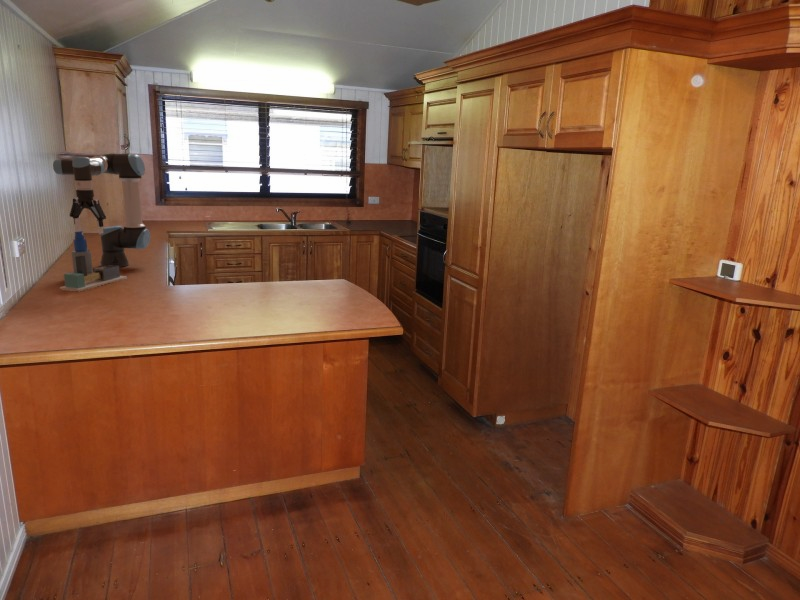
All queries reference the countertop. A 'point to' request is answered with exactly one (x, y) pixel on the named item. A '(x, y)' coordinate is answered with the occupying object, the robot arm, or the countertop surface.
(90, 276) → the l-shaped block
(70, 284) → the green rectangular block
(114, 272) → the sleeve
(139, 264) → the countertop surface
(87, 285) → the base board
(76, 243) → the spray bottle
